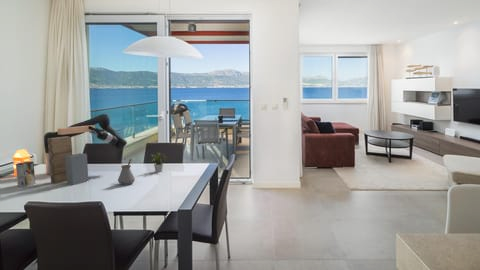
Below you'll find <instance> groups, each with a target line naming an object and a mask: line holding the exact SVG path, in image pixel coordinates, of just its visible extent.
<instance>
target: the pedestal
mask: <svg viewBox="0 0 480 270" xmlns="http://www.w3.org/2000/svg"><path fill="white" fill-rule="evenodd" d="M65 160H66V174H67V181H66V185H70V186H75V185H79V184H83V183H88V182H89V172H88V171H89V169H88V154H87V153H81V152H80V153H76V154H72V155H68V156H65ZM87 181H88V182H87Z"/></svg>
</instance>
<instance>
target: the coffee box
mask: <svg viewBox="0 0 480 270" xmlns="http://www.w3.org/2000/svg"><path fill="white" fill-rule="evenodd" d="M34 166H35V164H34V161H30V162H22V163H18V164H16V172H17V176H16V178H17V179H16V180H17V187H20V188H22V187H23V188H24V187H25V188H26V187H29V186H32V185H35V184H36V176H35V167H34Z"/></svg>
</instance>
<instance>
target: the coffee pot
mask: <svg viewBox="0 0 480 270" xmlns="http://www.w3.org/2000/svg"><path fill="white" fill-rule="evenodd" d="M131 162H132V158H130V159H129V160H128V164H125V165H124V164H122V165H121V166H120V167H121V170H120V174H119V176H118V178H117V182H118V183H119V184H120V185H121V186H130V185H132V184H133V183H134V182H135V180H136V179H135V177H134V174H133V172H132V170H131V165H130V164H131Z"/></svg>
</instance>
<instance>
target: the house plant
mask: <svg viewBox="0 0 480 270" xmlns="http://www.w3.org/2000/svg"><path fill="white" fill-rule="evenodd" d="M156 154H157V155H156ZM156 154H155V153H153V154H150V156H152V160H151V162H155V163H154V164H153V167H154V170H155V171H154V172H155V173H162V172H163V169H164V168H163V166H164V163H162V162H163V161H167V159H166V158H167V156H164V154H163V152H157V153H156ZM162 154H163V155H162Z"/></svg>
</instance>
